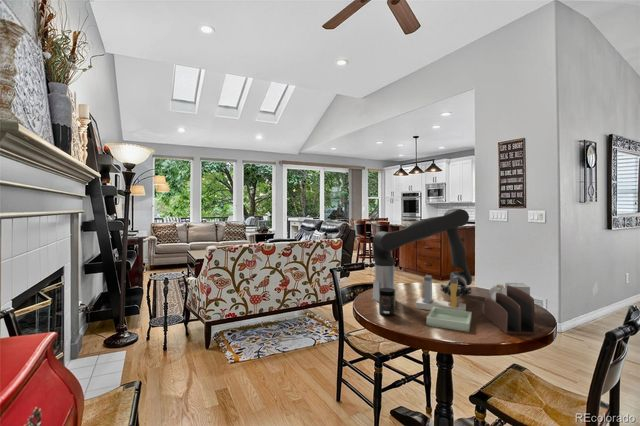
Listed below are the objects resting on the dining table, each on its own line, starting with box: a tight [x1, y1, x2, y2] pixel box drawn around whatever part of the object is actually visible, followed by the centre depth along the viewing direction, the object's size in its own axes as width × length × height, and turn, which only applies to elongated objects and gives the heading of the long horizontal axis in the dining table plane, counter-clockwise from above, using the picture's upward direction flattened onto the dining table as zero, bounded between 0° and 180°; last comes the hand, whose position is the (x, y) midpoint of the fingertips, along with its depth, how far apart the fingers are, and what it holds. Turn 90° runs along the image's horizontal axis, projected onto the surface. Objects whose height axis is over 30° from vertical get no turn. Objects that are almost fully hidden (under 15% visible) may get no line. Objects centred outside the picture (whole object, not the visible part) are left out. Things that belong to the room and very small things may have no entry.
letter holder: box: [483, 286, 536, 336], centre depth 129 cm, size 10×20×14 cm, turn 175°
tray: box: [426, 307, 473, 333], centre depth 132 cm, size 15×15×3 cm
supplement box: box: [504, 282, 531, 296], centre depth 141 cm, size 7×7×13 cm
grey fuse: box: [423, 274, 433, 304], centre depth 151 cm, size 2×5×14 cm, turn 152°
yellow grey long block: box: [449, 277, 459, 307], centre depth 146 cm, size 2×5×14 cm, turn 152°
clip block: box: [415, 297, 467, 311], centre depth 149 cm, size 20×8×3 cm, turn 62°
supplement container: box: [378, 288, 396, 317], centre depth 142 cm, size 7×7×10 cm
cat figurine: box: [488, 283, 505, 302], centre depth 156 cm, size 10×8×15 cm
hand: (453, 293), depth 143 cm, fingers closed on yellow grey long block, 2 cm apart
